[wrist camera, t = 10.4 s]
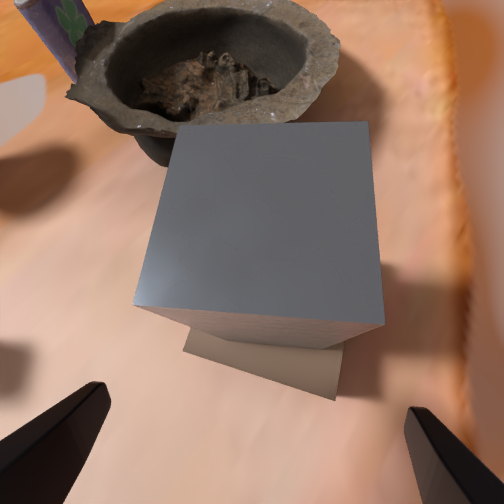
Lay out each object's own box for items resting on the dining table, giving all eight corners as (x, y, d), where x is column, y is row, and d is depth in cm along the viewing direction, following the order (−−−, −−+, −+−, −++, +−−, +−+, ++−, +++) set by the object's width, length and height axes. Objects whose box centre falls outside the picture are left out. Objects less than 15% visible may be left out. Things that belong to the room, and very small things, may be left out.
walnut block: (327, 394, 19) (335, 401, 16) (201, 353, 22) (182, 351, 18) (349, 266, 23) (359, 248, 19) (237, 242, 25) (228, 221, 21)
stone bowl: (86, 196, 29) (5, 119, 21) (163, 60, 40) (129, -25, 31) (321, 214, 24) (336, 123, 16) (337, 53, 34) (351, -51, 26)
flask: (92, 89, 36) (10, -24, 26) (71, 91, 37) (-17, -19, 26) (111, 43, 40) (47, -72, 30) (92, 45, 41) (22, -67, 30)
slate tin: (320, 349, 17) (385, 324, 6) (227, 340, 18) (132, 304, 7) (321, 260, 19) (368, 120, 8) (237, 256, 20) (179, 125, 9)
